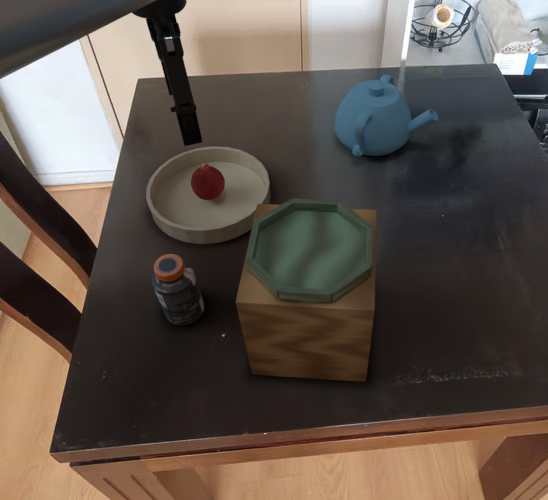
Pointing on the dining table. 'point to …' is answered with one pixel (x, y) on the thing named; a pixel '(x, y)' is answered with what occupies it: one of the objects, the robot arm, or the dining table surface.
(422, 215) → the dining table surface
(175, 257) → the pill bottle
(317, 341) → the stand
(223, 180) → the onion
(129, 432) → the dining table surface
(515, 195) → the dining table surface
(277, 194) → the dining table surface
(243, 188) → the cream bowl
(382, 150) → the teapot
